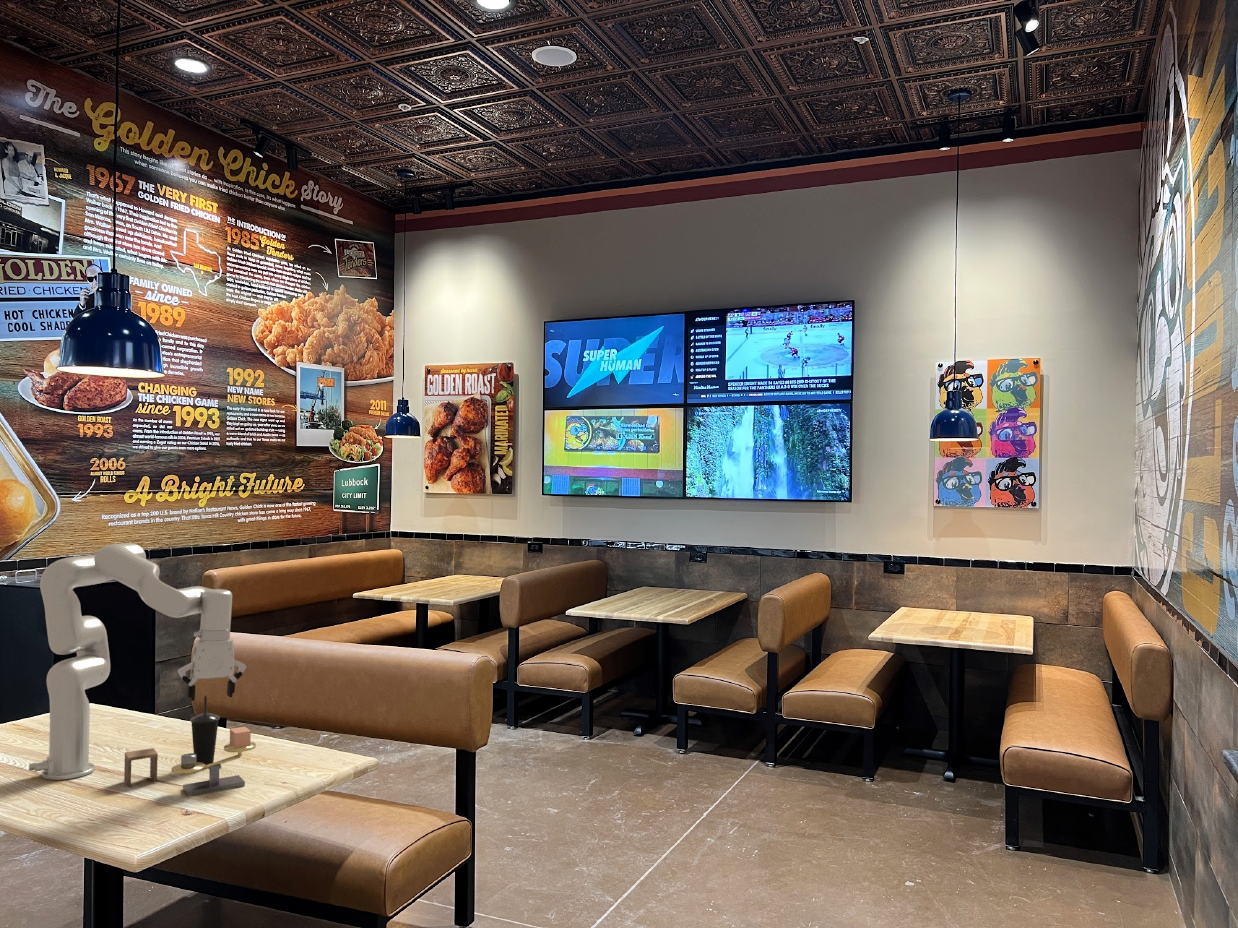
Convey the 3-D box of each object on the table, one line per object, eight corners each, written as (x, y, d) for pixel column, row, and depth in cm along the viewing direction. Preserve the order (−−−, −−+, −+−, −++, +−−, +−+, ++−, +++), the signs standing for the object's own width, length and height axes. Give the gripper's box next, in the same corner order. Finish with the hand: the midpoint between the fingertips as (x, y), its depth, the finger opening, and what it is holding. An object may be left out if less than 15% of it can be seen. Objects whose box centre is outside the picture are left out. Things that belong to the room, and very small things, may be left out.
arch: (127, 787, 242) (128, 757, 242) (124, 781, 246) (124, 752, 246) (156, 782, 246) (157, 753, 246) (152, 776, 250) (153, 747, 251)
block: (235, 733, 244) (230, 728, 248) (234, 748, 244) (229, 743, 248) (250, 730, 246) (245, 726, 250) (250, 745, 246) (245, 740, 250)
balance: (174, 799, 233) (175, 760, 233) (168, 790, 239) (169, 752, 239) (258, 784, 245) (259, 746, 245) (250, 776, 252) (251, 739, 252)
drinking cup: (207, 770, 256) (208, 699, 256) (183, 768, 257) (184, 697, 258) (224, 762, 263) (225, 693, 264) (200, 760, 265) (202, 691, 265)
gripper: (183, 639, 240) (179, 704, 240) (251, 635, 250) (247, 697, 250) (177, 634, 246) (173, 697, 246) (244, 631, 256) (240, 691, 256)
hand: (210, 697), depth 248 cm, fingers open, 9 cm apart
